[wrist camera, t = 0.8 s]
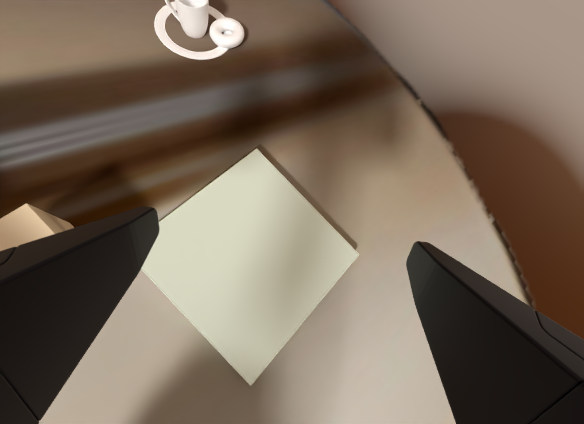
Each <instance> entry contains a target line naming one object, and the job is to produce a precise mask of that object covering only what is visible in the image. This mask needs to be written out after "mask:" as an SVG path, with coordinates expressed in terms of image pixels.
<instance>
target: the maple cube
mask: <svg viewBox="0 0 584 424" xmlns="http://www.w3.org/2000/svg"><path fill="white" fill-rule="evenodd" d="M72 228H74V227H73V226H72V225H71V224H70V223H69V222H67V221H64V220H62V219H60V218H58V217H55V216H53V215H51V214H49V213H47V212H44V211H42V210H40V209H38V208H35V207H33V206H31V205H29V204H27V203H26V204H25V205H23V206H21V207H20V208H18V209H16V210H15V211H13V212H11V213H10V214H8V215H6V216H5V217H3V218H1V219H0V251H2V250H5V249H8V248H12V247H18V246H19V245H21V244H25V243H28V242H31V241H34V240H37V239H40V238H44V237H47V236H50V235H53V234H56V233H59V232H63V231H66V230H69V229H72Z"/></svg>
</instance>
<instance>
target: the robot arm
mask: <svg viewBox="0 0 584 424" xmlns="http://www.w3.org/2000/svg"><path fill="white" fill-rule="evenodd" d="M159 230H160V228H159V222H158V215H157V211H156V209H155V208H152V207H139V208H136V209H133V210H129V211H126V212H123V213H120V214H117V215H113V216H110V217H107V218H104V219H101V220H98V221H94V222H91V223H88V224H85V225H82V226H79V227H75V228H72V229H69V230H66V231H63V232H59V233H56V234H53V235H50V236H47V237H44V238H40V239H37V240H34V241H31V242H28V243H25V244H21V245H19V246H18V247H12V248H8V249H5V250H2V251H0V424H39V421H40V420H41V419H42V417H43V416H44V414H45V413H46V411H47V410H48V408H49V407H50V405H51V404H52V402H53V401H54V399H55V398H56V396H57V395H58V393H59V392H60V390H61V389H62V387H63V386H64V384H65V383H66V381H67V380H68V378H69V377H70V375H71V374H72V372H73V371H74V369H75V368H76V366H77V365H78V363H79V362H80V360H81V359H82V357H83V356H84V354H85V353H86V351H87V350H88V348H89V347H90V345H91V344H92V342H93V341H94V339H95V338H96V336H97V335H98V333H99V332H100V330H101V329H102V327H103V326H104V324H105V323H106V321H107V320H108V318H109V317H110V315H111V314H112V312H113V311H114V309H115V308H116V306H117V305H118V303H119V302H120V300H121V299H122V297H123V296H124V294H125V293H126V291H127V290H128V288H129V287H130V285H131V284H132V282H133V281H134V279H135V278H136V276H137V274H138V273H139V271H140V270H141V268H142V266H143V264H144V262H145V260H146V258H147V256H148V254H149V252H150V250H151V249H152V247H153V245H154V243H155V241H156V239H157V237H158V235H159ZM406 266H407V271H408V275H409V280H410V284H411V289H412V293H413V298H414V302H415V305H416V308H417V312H418V314H419V317H420V320H421V323H422V326H423V329H424V332H425V335H426V338H427V341H428V344H429V346H430V349H431V352H432V355H433V358H434V361H435V364H436V367H437V370H438V373H439V375H440V378H441V381H442V384H443V387H444V390H445V393H446V396H447V399H448V402H449V404H450V407H451V410H452V413H453V416H454V419H455V422H456V424H584V340H583V339H582V338H580V337H578V336H577V335H575V334H573V333H572V332H570V331H569V330H567V329H565V328H564V327H562V326H560V325H559V324H557V323H555V322H554V321H552V320H551V319H549V318H548V317H546V316H544V315H543V314H541V313H540V312H538V311H535V310H534V309H533V308H532V307H530V306H528V305H527V304H525V303H524V302H522V301H520V300H519V299H517V298H516V297H514V296H512V295H511V294H509V293H508V292H506V291H505V290H503V289H501V288H500V287H498V286H497V285H495V284H493V283H492V282H490V281H489V280H487V279H485V278H484V277H482V276H481V275H479V274H478V273H476V272H474V271H473V270H471V269H470V268H468V267H466V266H465V265H463V264H462V263H460V262H459V261H457V260H455V259H454V258H452V257H451V256H449V255H447V254H446V253H444V252H443V251H441V250H439V249H438V248H436V247H435V246H433V245H432V244H430V243H427V242H420V241H417V242H415V243H414V245H413V247H412V249H411V251H410V254H409V256H408V258H407V262H406Z"/></svg>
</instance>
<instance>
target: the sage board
mask: <svg viewBox="0 0 584 424" xmlns="http://www.w3.org/2000/svg"><path fill="white" fill-rule="evenodd" d="M159 228H160V230H159V235H158V237H157V239H156V241H155V243H154V245H153V247H152V249H151V250H150V252H149V254H148V256H147V258H146V260H145V262H144V264H143V266H142V268H141V270H142V271H143V272H144V273H145V274H146V275H147V276H148V277H149V278H150V280H151V281H152V282H153V283H154V284H155V285H156V286H157V287H158V288H159V289H160V290H161V291H162V292H163V293H164V294H165V295H166V297H167V298H168V299H169V300H170V301H171V302H172V303H173V304H174V305H175V306H176V307H177V308H178V309H179V310H180V311H181V312H182V314H183V315H184V316H185V317H186V318H187V319H188V320H189V321H190V322H191V323H192V324H193V325H194V326H195V327H196V328H197V330H198V331H199V332H200V333H201V334H202V335H203V336H204V337H205V338H206V339H207V340H208V341H209V342H210V343H211V344H212V345H213V347H214V348H215V349H216V350H217V351H218V352H219V353H220V354H221V355H222V356H223V357H224V358H225V359H226V360H227V361H228V363H229V364H230V365H231V366H232V367H233V368H234V369H235V370H236V371H237V372H238V373H239V374H240V375H241V376H242V377H243V378H244V380H245V381H246V382H247V383H248V384H249V385H250V386H251V385H252V384H253V383H254V381H255V380H256V379H257V378H258V377H259V375H260V374H261V373H262V372H263V370H264V369H265V368H266V367H267V366H268V364H269V363H270V362H271V361H272V360H273V358H274V357H275V356H276V355H277V353H278V352H279V351H280V350H281V349H282V347H283V346H284V345H285V344H286V343H287V341H288V340H289V339H290V338H291V337H292V335H293V334H294V333H295V332H296V330H297V329H298V328H299V327H300V326H301V324H302V323H303V322H304V321H305V320H306V318H307V317H308V316H309V315H310V313H311V312H312V311H313V310H314V309H315V307H316V306H317V305H318V304H319V303H320V301H321V300H322V299H323V298H324V297H325V295H326V294H327V293H328V292H329V290H330V289H331V288H332V287H333V286H334V284H335V283H336V282H337V281H338V280H339V278H340V277H341V276H342V275H343V273H344V272H345V271H346V270H347V269H348V267H349V266H350V265H351V264H352V263H353V261H354V260H355V259H356V258H357V257H358V255H359V254H358V253H357V252H356V250H355V249H354V248H353V247H352V246H351V245H350V244H349V243H348V242H347V241H346V240H345V239H344V238H343V237H342V236H341V235H340V234H339V233H338V232H337V231H336V230H335V229H334V228H333V227H332V226H331V225H330V224H329V223H328V222H327V221H326V219H325V218H324V217H323V216H322V215H321V214H320V213H319V212H318V211H317V210H316V209H315V208H314V207H313V206H312V205H311V204H310V203H309V202H308V201H307V200H306V199H305V198H304V197H303V196H302V195H301V194H300V193H299V192H298V191H297V190H296V189H295V187H294V186H293V185H292V184H291V183H290V182H289V181H288V180H287V179H286V178H285V177H284V176H283V175H282V174H281V173H280V172H279V171H278V170H277V169H276V168H275V167H274V166H273V165H272V164H271V163H270V162H269V161H268V160H267V159H266V158H265V156H264V155H263V154H262V153H261V152H260V151H259V150H258V149H255V150H254V151H253V152H251V153H250V154H249V155H247V156H246V157H245V158H243V159H242V160H241V161H239V162H238V163H237V164H235V165H234V166H233V167H231V168H230V169H229V170H227V171H226V172H225V173H223V174H222V175H221V176H219V177H218V178H217V179H216V180H214V181H213V182H212V183H210V184H209V185H208V186H206V187H205V188H204V189H202V190H201V191H200V192H198V193H197V194H196V195H194V196H193V197H192V198H190V199H189V200H188V201H186V202H185V203H184V204H182V205H181V206H180V207H178V208H177V209H176V210H174V211H173V212H172V213H170V214H169V215H168V216H166V217H165V218H164V219H162V220H161V221H160V222H159Z"/></svg>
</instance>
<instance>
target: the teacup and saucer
mask: <svg viewBox="0 0 584 424" xmlns="http://www.w3.org/2000/svg"><path fill="white" fill-rule="evenodd" d="M165 2H166V4H167V5H165V6H164V7H162V8H161V9H160V10H159V12H158V13H157V15H156V17H155V23H154V25H155V31H156V33H157V35H158V37H159V39H160V40H161V41H162V43H163V44H164V45H165V46H166V47H168V48H169V49H170V50H172V51H173V52H175V53H177V54H179V55H181V56H184V57H187V58H191V59H199V60H205V59H212V58H216V57H218V56H220V55H222V54H224V53H225V52H226V51H227V50H228V49H229V48H234V47H236V46H238V45H239V44H240V43H241V42H242V41H243V38H244V29H243V27H242V25H241V24H240V23H239V22H238V21H236V20H234V19H232V18H225V17H224V16H223V15H222V14H221V13H220V12H219V11H218V10H216V9H215V8H213V7H211V6H209V0H175V2H171V3H170V2H169V0H165ZM175 10H177V12H178V14H177V12H176V11H175ZM170 13H173V15H174V16H175V17H176V18H177V19H178V20H179V21H180V23H181V25H182V28H183V30H184V31H185V33H186V34H187V35H188V36H190V37H193V38H201V37H203V36H204V35H205V33H206V30H207V26H208V13H209V14H211V15H212V16H213V17H215V18H216V19H217V20H216V21H214V22H213V23H212V25H211V26H210V31H209V33H210V37H211V38H212V40H213V42H214V43H215V44H217V45H218V47H217V48H215V49H214V50H211V51H207V52H193V51H189V50H186V49H184V48H181V47H180V46H178V45H176V44H175V43H174V42H173V41H172V40H171V39H170V38H169V37H168V35H167V33H166V30H165V21H166V18H167V17H168V15H169V14H170ZM222 32H224V34H222Z"/></svg>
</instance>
